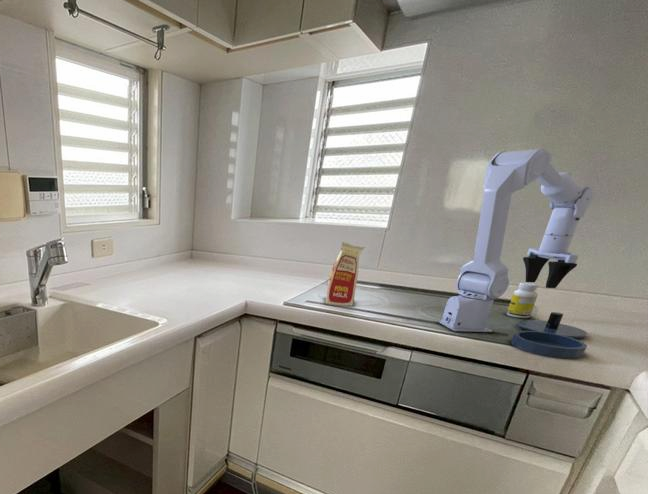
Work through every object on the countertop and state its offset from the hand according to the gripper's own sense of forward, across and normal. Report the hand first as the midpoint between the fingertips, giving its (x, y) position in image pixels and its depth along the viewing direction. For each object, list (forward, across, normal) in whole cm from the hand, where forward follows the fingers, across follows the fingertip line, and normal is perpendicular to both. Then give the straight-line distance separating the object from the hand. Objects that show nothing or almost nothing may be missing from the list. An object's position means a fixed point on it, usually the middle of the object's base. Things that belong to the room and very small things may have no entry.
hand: (540, 284), depth 114 cm
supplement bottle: (+11, +4, 0) cm, 12 cm away
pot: (+10, -25, +12) cm, 29 cm away
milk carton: (+10, +16, +48) cm, 51 cm away
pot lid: (+10, -10, +1) cm, 14 cm away
